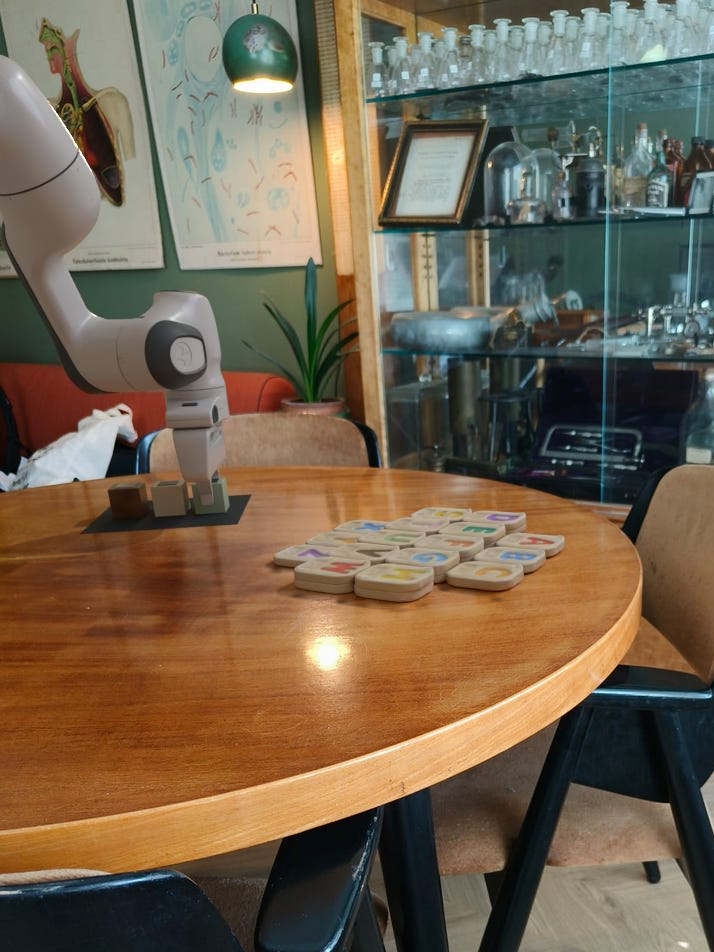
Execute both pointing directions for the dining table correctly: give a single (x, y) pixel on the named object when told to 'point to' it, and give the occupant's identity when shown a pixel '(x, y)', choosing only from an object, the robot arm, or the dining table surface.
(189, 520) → the word mat
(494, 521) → the alphabet tiles
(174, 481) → the beige hollow cube
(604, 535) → the dining table surface
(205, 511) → the olive open-top cube
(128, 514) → the dark chocolate cube
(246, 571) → the dining table surface
